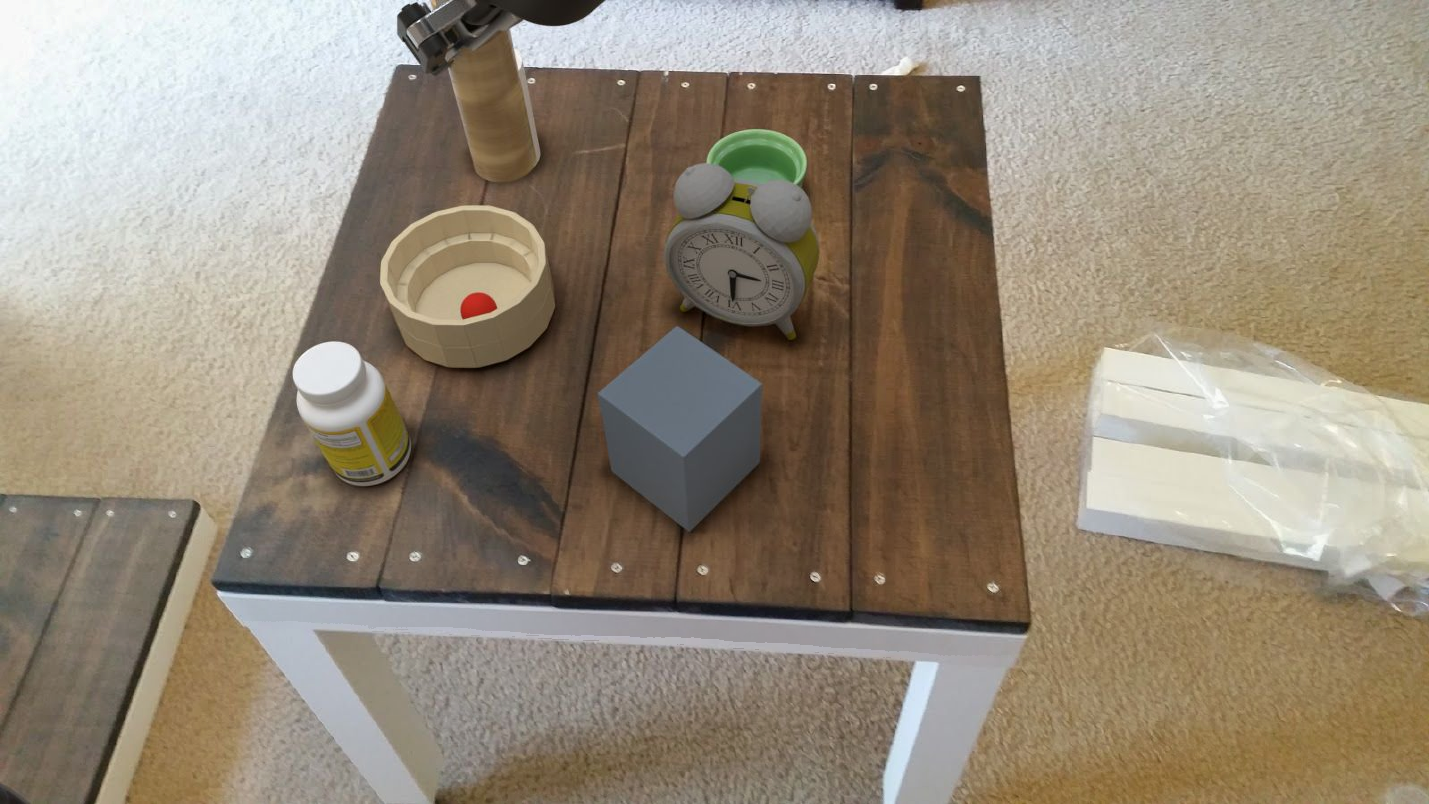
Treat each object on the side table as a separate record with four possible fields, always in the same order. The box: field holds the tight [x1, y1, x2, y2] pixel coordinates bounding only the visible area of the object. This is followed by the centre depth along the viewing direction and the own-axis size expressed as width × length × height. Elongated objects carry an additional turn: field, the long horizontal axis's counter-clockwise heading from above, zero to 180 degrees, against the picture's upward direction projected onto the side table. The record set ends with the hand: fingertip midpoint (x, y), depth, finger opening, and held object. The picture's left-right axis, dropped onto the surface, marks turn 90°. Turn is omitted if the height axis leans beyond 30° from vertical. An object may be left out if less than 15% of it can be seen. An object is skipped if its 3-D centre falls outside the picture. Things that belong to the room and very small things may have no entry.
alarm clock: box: [663, 162, 821, 341], centre depth 83 cm, size 12×7×15 cm, turn 70°
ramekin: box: [706, 128, 808, 189], centre depth 95 cm, size 9×9×4 cm
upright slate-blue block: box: [597, 325, 763, 533], centre depth 76 cm, size 8×8×10 cm
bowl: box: [379, 204, 556, 369], centre depth 87 cm, size 13×13×6 cm
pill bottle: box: [292, 341, 412, 487], centre depth 76 cm, size 6×6×11 cm
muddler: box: [429, 0, 536, 183], centre depth 63 cm, size 4×4×12 cm
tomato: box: [460, 292, 497, 319], centre depth 86 cm, size 3×3×3 cm
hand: (457, 39), depth 62 cm, fingers closed on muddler, 4 cm apart
